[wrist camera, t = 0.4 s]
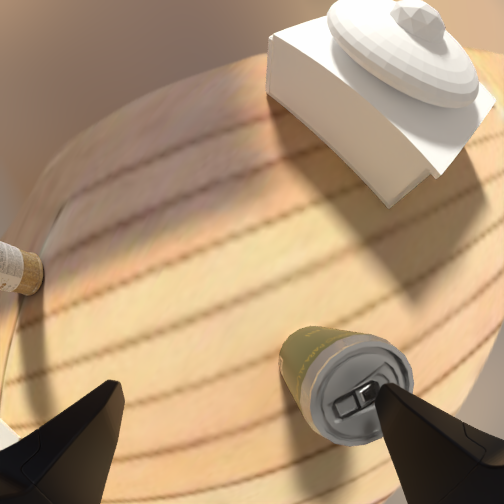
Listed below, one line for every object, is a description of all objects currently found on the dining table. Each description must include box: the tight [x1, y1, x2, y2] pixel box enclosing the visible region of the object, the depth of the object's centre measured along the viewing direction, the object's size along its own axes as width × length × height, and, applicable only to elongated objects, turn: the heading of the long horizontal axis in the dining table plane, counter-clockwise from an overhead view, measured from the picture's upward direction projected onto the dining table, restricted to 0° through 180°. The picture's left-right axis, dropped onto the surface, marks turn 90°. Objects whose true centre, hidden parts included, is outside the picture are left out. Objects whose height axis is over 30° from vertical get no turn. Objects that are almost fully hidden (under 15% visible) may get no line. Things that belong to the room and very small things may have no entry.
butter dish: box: [265, 0, 496, 209], centre depth 20 cm, size 18×18×16 cm
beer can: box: [279, 326, 414, 446], centre depth 16 cm, size 5×5×12 cm
